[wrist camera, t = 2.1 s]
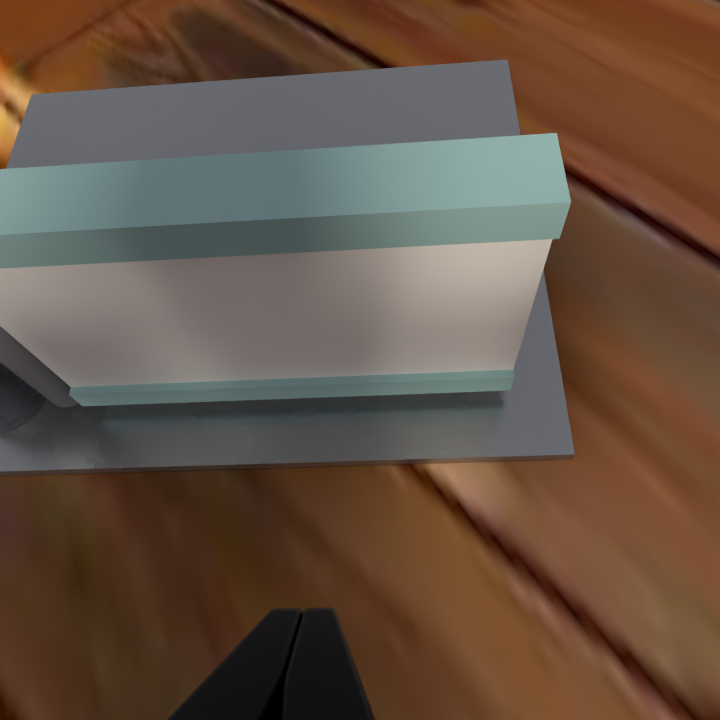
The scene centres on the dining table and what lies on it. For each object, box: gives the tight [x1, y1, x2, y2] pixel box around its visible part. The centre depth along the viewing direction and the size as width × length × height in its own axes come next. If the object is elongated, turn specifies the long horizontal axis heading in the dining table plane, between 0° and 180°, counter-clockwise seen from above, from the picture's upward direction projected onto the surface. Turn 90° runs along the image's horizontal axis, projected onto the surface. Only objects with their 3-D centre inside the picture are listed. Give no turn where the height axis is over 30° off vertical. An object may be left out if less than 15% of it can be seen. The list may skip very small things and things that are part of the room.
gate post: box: [0, 60, 575, 476], centre depth 22 cm, size 24×20×12 cm
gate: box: [0, 133, 571, 407], centre depth 18 cm, size 17×2×10 cm, turn 90°
